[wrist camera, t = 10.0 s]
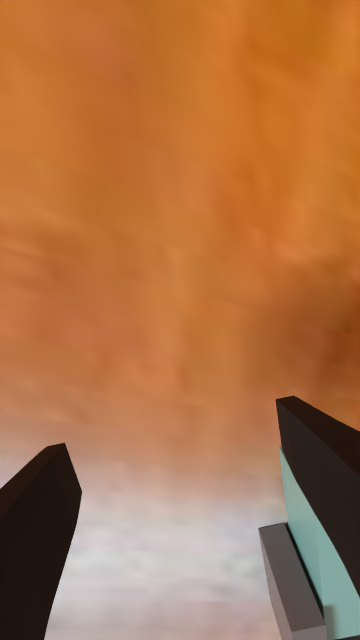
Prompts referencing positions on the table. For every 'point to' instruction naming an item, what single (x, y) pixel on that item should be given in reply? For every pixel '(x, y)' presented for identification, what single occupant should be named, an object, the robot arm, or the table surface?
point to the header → (290, 588)
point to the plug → (320, 562)
